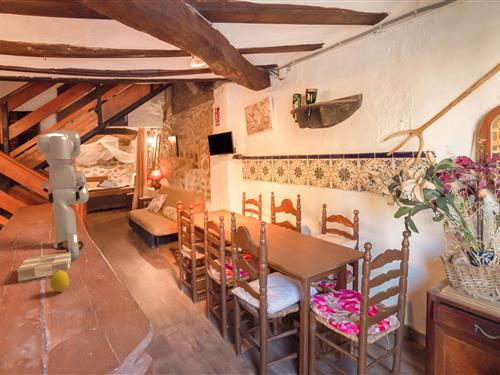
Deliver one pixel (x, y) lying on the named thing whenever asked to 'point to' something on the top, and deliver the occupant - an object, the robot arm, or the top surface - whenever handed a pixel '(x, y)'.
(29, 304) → the top surface
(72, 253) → the pin
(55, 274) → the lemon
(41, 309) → the top surface
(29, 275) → the bore block
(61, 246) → the pottery mug
